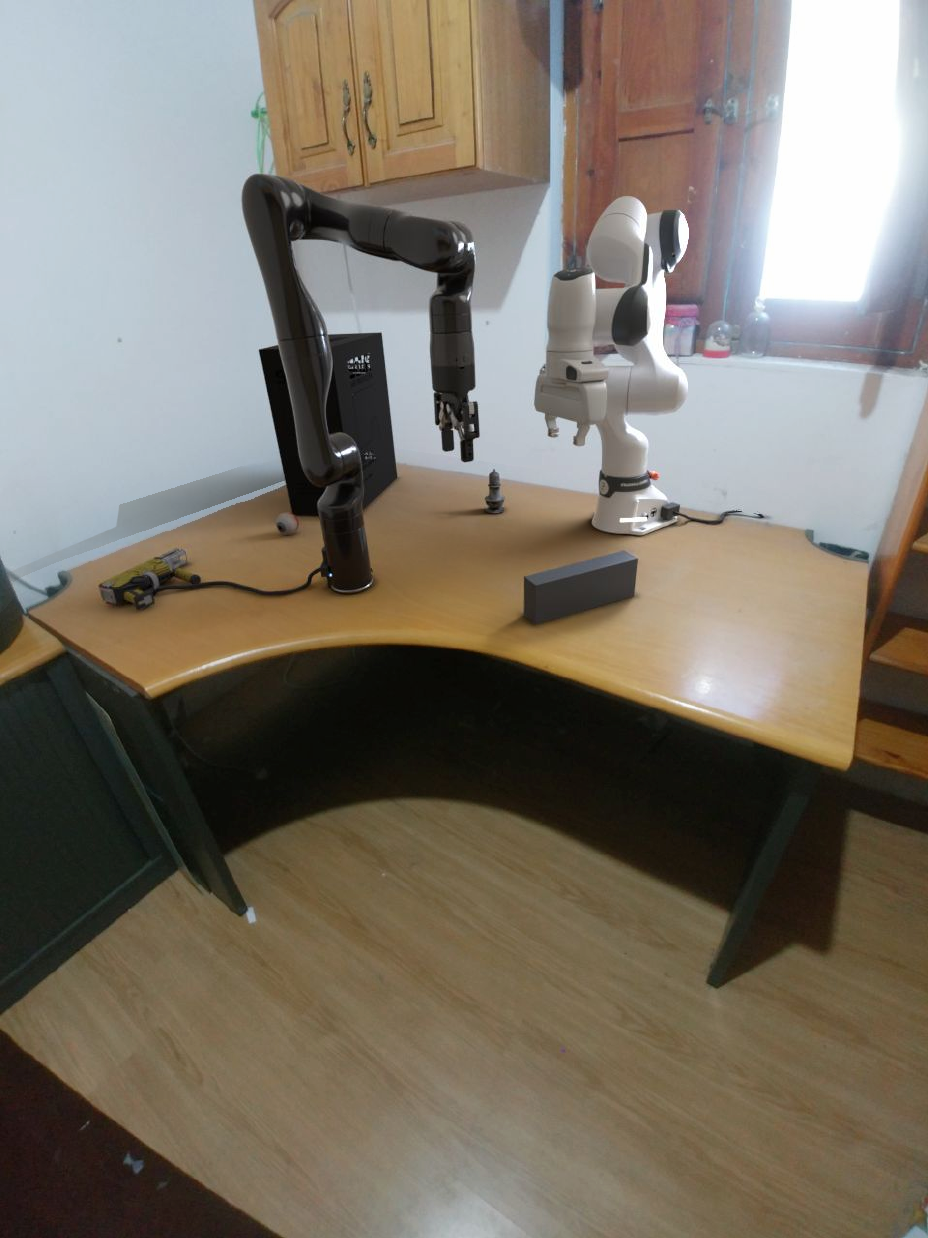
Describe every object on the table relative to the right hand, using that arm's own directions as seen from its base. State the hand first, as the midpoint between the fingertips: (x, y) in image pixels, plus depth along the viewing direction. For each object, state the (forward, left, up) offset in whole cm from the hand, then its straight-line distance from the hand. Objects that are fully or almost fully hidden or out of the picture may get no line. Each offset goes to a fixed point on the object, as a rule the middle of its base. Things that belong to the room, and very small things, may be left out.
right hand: (565, 441), depth 121 cm
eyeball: (+50, -58, -30) cm, 82 cm away
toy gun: (+82, -40, -30) cm, 96 cm away
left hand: (+25, +2, +1) cm, 25 cm away
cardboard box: (+27, -82, -30) cm, 91 cm away
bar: (+5, +14, -30) cm, 33 cm away
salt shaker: (-6, -44, -30) cm, 54 cm away
